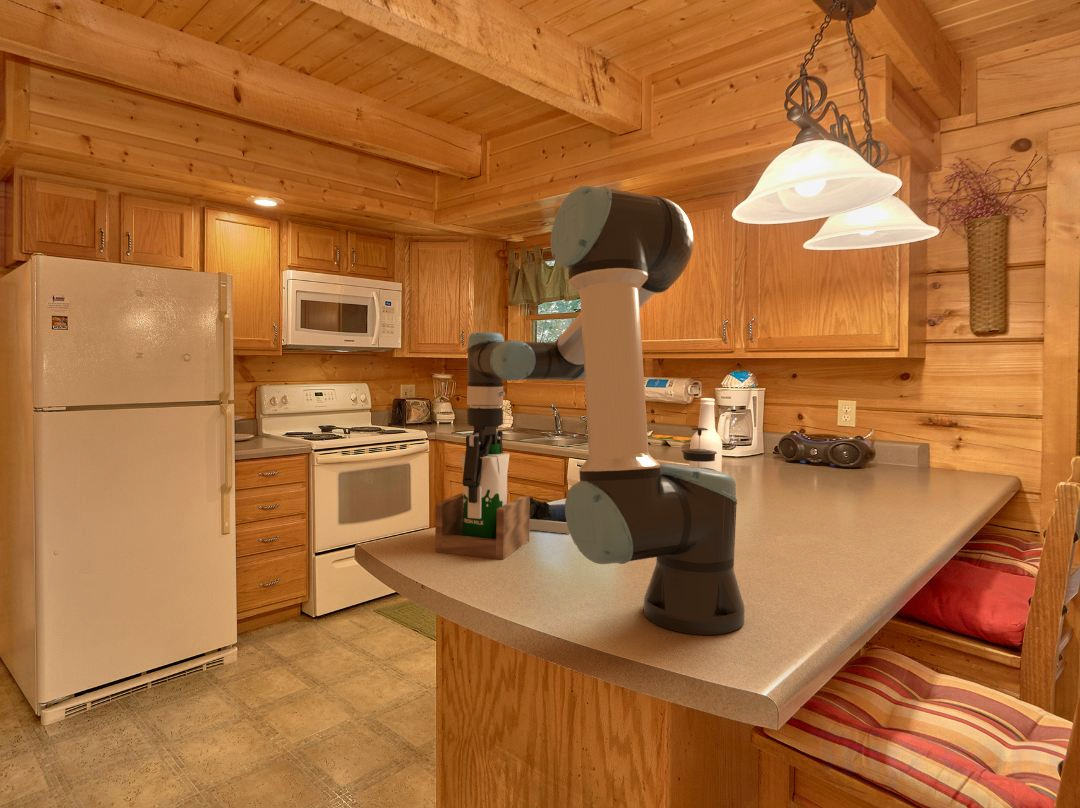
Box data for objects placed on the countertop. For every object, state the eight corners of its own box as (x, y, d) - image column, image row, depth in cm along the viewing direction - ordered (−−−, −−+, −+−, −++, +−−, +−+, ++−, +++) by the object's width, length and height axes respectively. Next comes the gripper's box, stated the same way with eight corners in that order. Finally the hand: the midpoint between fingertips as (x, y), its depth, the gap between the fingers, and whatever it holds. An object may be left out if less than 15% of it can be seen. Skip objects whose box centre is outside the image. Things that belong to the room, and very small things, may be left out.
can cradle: (569, 534, 150) (569, 523, 150) (519, 529, 154) (520, 518, 154) (586, 520, 165) (586, 510, 165) (540, 515, 169) (541, 506, 169)
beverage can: (543, 535, 153) (581, 531, 161) (548, 504, 152) (587, 501, 159) (521, 521, 160) (559, 517, 168) (526, 491, 159) (564, 488, 166)
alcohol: (715, 509, 180) (718, 399, 178) (684, 505, 185) (687, 398, 183) (724, 503, 187) (727, 398, 186) (694, 500, 192) (697, 397, 190)
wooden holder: (503, 559, 130) (503, 509, 129) (435, 551, 135) (435, 503, 134) (529, 541, 144) (529, 495, 144) (466, 534, 149) (467, 490, 148)
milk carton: (512, 536, 141) (513, 444, 140) (490, 546, 133) (491, 448, 132) (478, 531, 145) (479, 441, 144) (454, 540, 137) (455, 445, 136)
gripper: (480, 410, 126) (479, 526, 128) (520, 404, 147) (519, 504, 148) (445, 409, 129) (444, 522, 130) (489, 403, 149) (488, 501, 151)
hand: (484, 512), depth 139 cm, fingers closed on milk carton, 9 cm apart
